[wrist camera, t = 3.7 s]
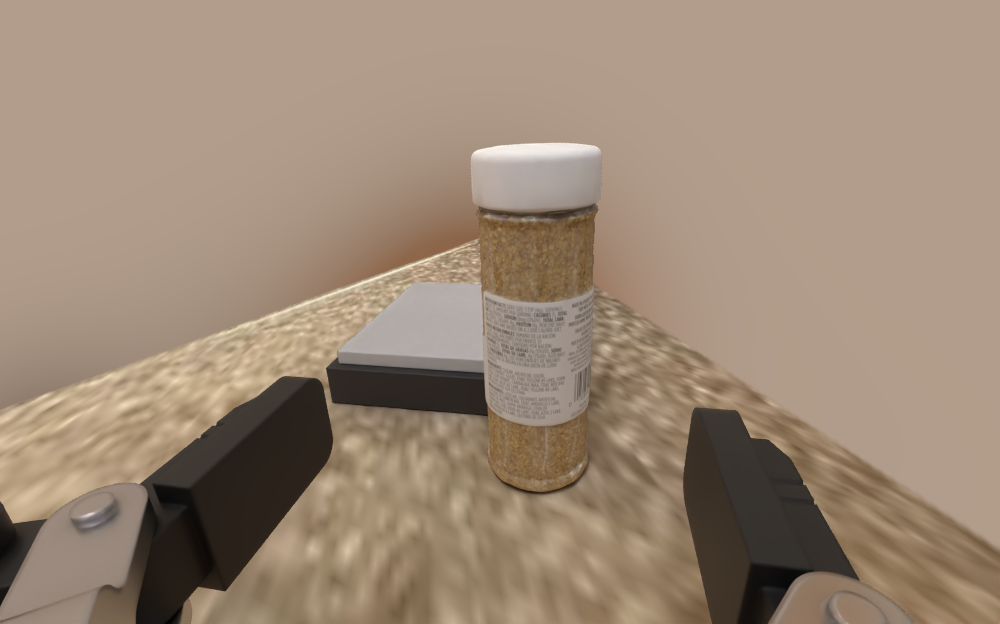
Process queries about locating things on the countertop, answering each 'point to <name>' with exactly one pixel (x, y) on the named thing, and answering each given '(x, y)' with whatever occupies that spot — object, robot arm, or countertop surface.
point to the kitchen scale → (417, 353)
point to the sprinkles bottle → (537, 305)
